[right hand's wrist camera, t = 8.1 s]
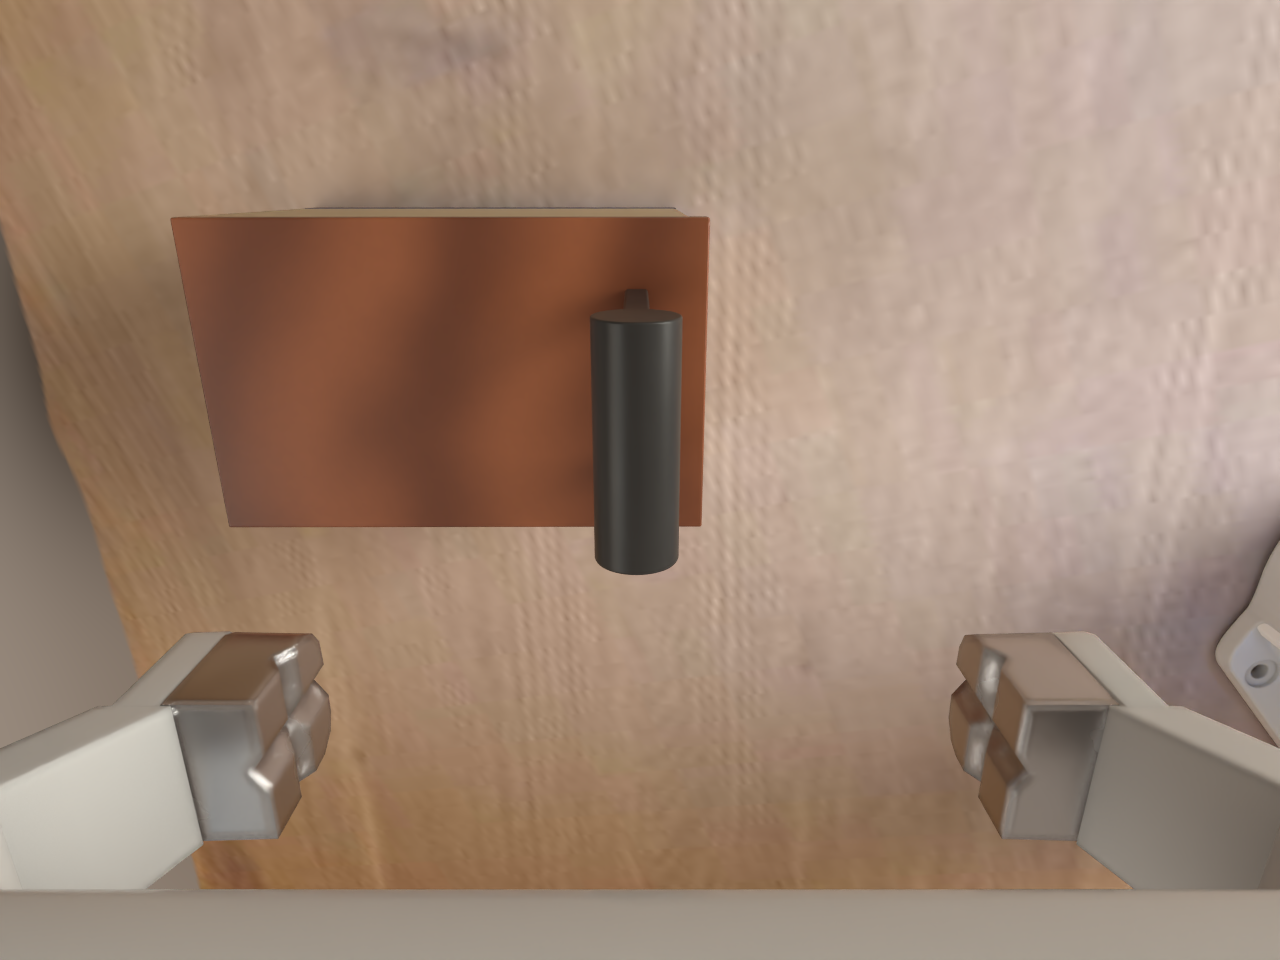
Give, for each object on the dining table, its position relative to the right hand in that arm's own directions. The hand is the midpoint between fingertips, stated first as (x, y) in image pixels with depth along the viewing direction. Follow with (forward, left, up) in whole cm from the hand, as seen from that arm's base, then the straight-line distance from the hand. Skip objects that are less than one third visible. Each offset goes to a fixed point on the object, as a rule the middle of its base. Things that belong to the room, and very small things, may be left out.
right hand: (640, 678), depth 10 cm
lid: (+3, +5, -17) cm, 18 cm away
